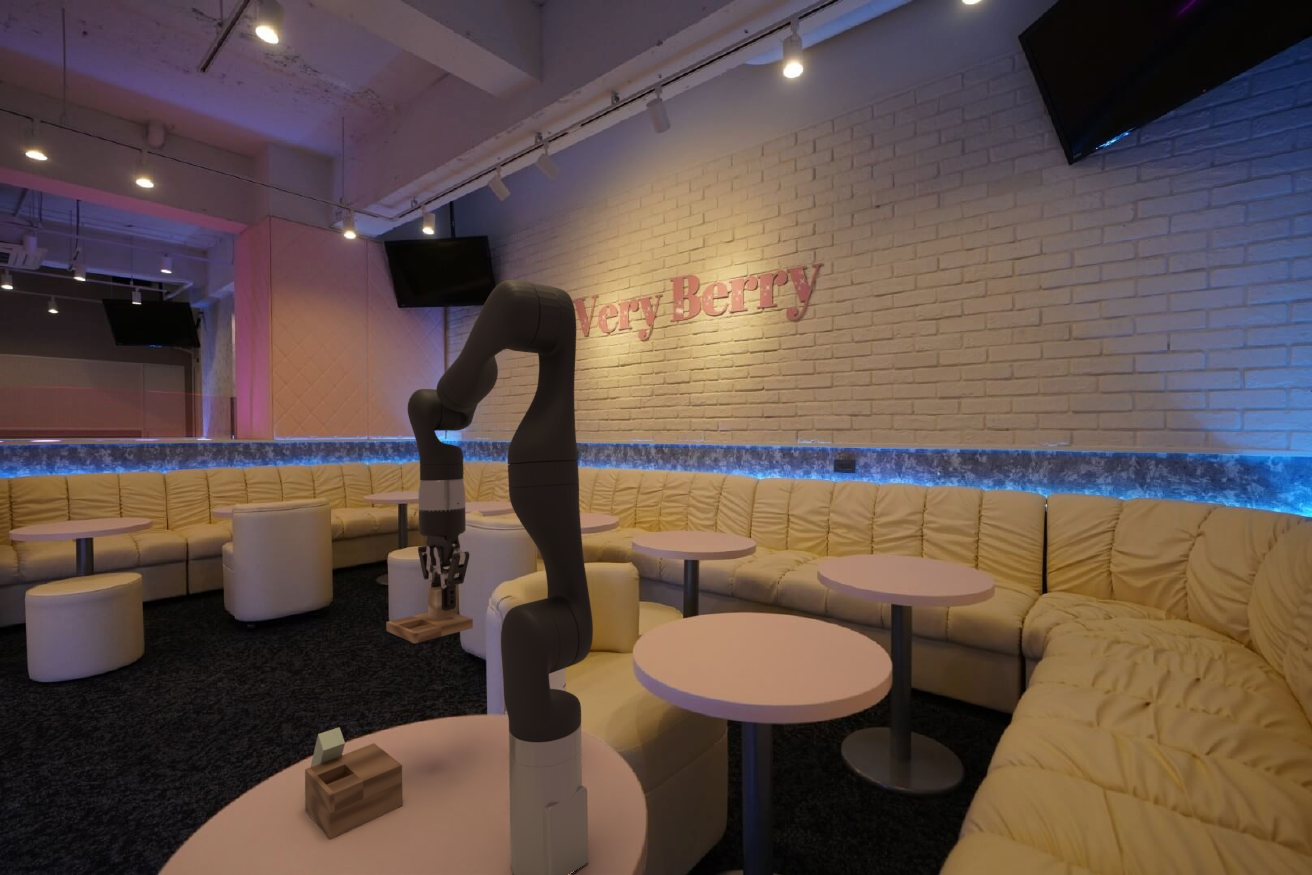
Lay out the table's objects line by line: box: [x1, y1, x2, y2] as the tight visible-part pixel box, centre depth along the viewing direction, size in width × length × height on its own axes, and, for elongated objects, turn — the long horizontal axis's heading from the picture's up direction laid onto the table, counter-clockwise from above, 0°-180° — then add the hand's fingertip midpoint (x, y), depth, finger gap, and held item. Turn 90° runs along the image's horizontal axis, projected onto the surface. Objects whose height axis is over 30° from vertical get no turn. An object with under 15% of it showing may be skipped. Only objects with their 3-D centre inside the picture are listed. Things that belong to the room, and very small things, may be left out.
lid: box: [385, 586, 474, 644], centre depth 97 cm, size 10×10×6 cm
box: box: [304, 743, 404, 840], centre depth 87 cm, size 10×10×6 cm
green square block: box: [310, 727, 346, 767], centre depth 91 cm, size 3×3×10 cm
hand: (443, 607), depth 99 cm, fingers closed on lid, 3 cm apart
